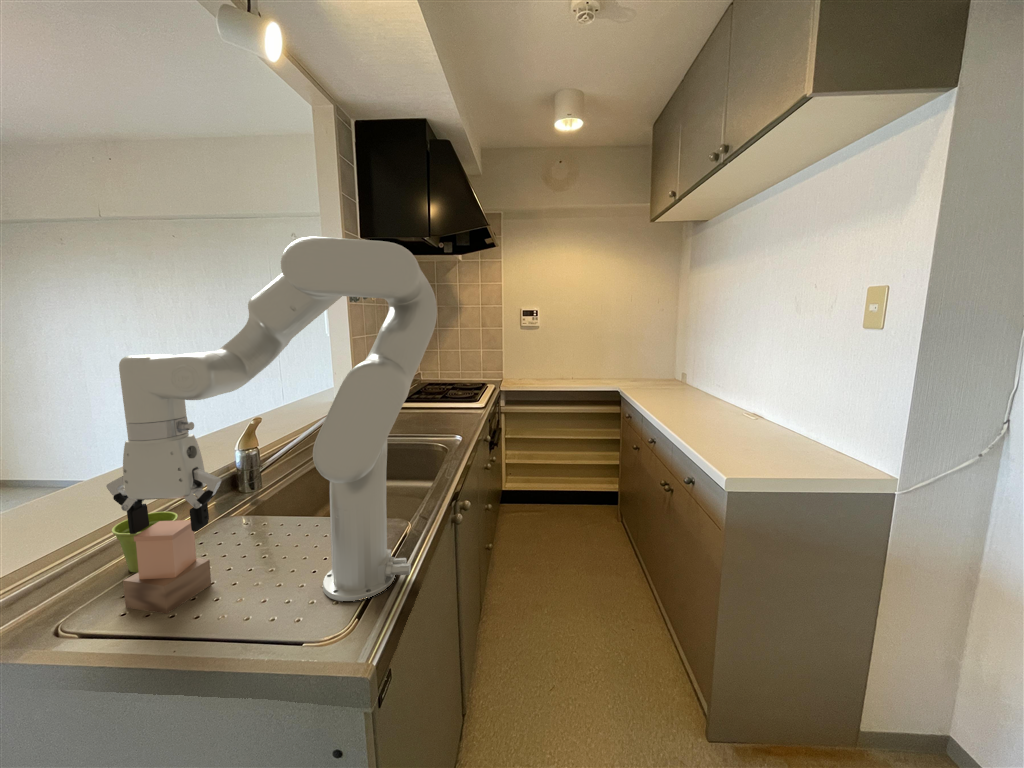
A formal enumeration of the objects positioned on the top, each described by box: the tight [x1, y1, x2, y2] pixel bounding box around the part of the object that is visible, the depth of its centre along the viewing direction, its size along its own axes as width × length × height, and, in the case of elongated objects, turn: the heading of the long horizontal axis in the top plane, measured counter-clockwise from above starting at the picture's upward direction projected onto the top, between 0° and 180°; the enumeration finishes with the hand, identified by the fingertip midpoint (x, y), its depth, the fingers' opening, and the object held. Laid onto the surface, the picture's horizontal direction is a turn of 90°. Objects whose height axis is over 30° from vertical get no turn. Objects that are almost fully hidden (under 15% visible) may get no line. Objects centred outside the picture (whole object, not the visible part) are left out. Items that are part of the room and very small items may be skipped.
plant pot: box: [111, 511, 179, 573], centre depth 79 cm, size 9×9×9 cm
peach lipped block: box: [134, 519, 197, 579], centre depth 69 cm, size 6×6×7 cm
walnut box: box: [122, 557, 212, 615], centre depth 70 cm, size 8×8×5 cm
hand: (170, 528), depth 69 cm, fingers open, 9 cm apart
